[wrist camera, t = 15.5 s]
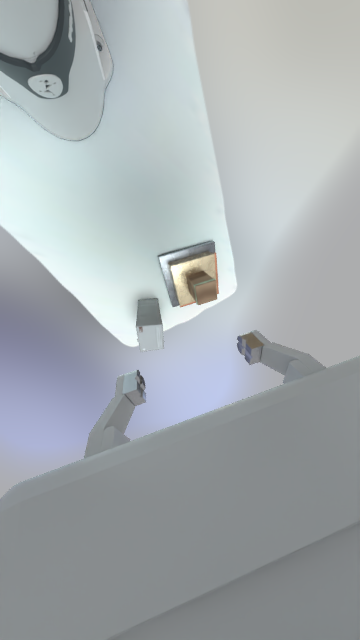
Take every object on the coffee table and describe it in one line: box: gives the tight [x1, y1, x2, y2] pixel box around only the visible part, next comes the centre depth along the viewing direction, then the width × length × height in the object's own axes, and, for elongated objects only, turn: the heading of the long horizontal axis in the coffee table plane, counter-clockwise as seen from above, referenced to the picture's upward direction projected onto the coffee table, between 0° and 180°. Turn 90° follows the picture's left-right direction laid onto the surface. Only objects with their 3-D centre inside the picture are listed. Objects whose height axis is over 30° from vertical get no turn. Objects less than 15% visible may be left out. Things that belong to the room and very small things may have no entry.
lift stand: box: [158, 241, 219, 307], centre depth 45 cm, size 16×16×6 cm
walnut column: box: [186, 271, 217, 305], centre depth 39 cm, size 5×5×8 cm
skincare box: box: [136, 299, 164, 352], centre depth 44 cm, size 8×7×16 cm
